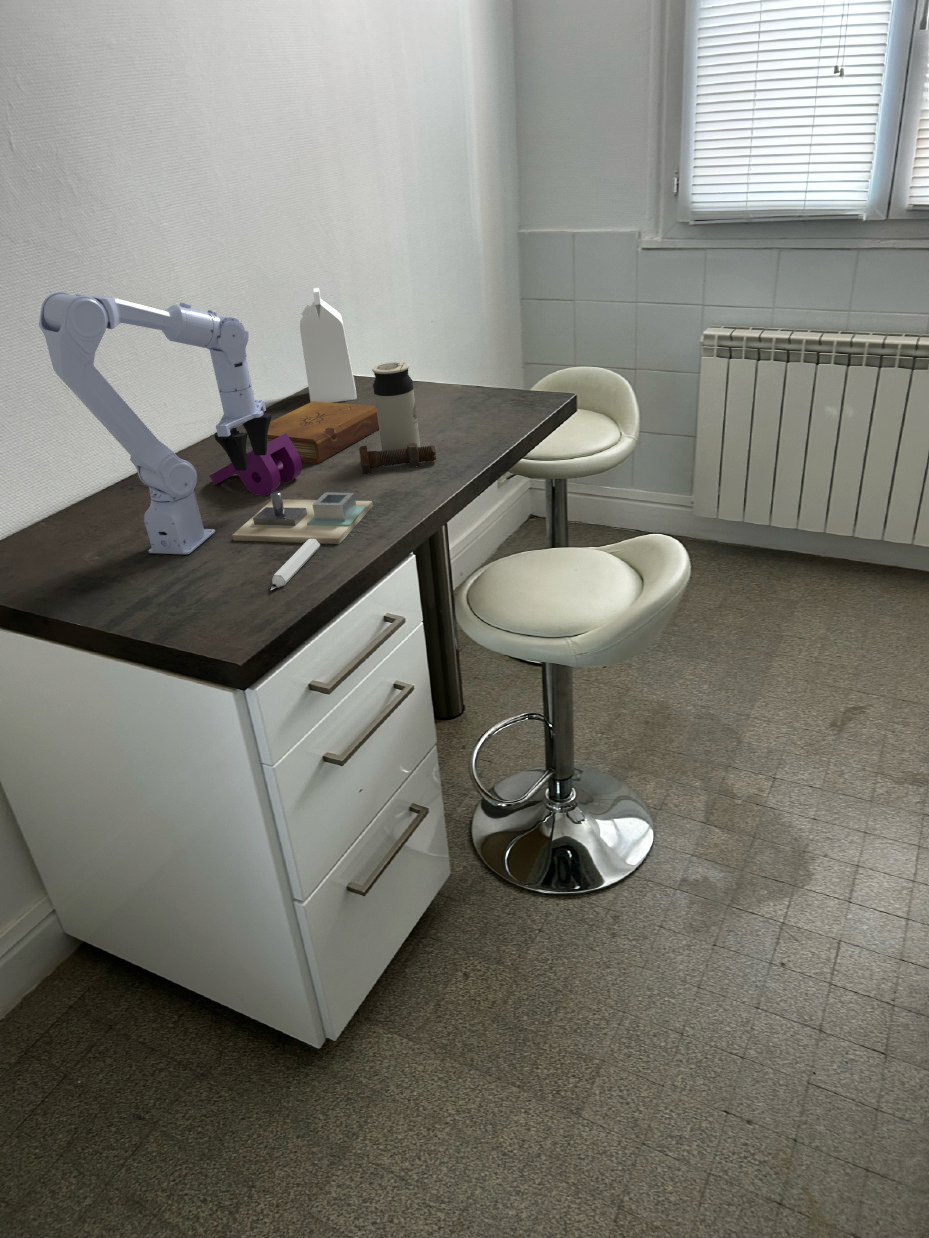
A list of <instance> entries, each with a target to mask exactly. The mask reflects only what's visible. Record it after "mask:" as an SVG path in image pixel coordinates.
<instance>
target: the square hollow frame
mask: <svg viewBox="0 0 929 1238" xmlns="http://www.w3.org/2000/svg"><path fill="white" fill-rule="evenodd" d="M355 496H356V495H355V492H329V491H328V492H324V493H323V494H322V495H321V496H320V497H319V498H318V499H316V500H317V501H316V502H315V503H314V504H313V511H314V516H315V521H344V522H345V521H346V520H347V519H348V518H349V517H350V516H351V514H352V513H353V512H354V511H355V510H356V509H357V507H356V501H357V500H356V497H355Z"/></svg>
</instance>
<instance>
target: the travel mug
mask: <svg viewBox="0 0 929 1238" xmlns="http://www.w3.org/2000/svg"><path fill="white" fill-rule="evenodd" d="M409 368H410V364H409V363H408V362H404V361H390V362H384V363H380V364H376V365H375V366H373V367H372V369H371V371H372V373H373V375H374V377H375V378H374V381H373V383H372V386H373V387H372V388H373V394H374V395H373V396H374V402H375V403H374V404H375V406H376V410H377V417H378V424H379V430H378V431H379V436H380V443H381V451H383V450H384V451H386V450H387V451H388V450H393V449H394V450H396V449H397V450H398V449H403V448H404V449H405V448H407V445H408V444H409V443H416V444H417V447H421V441H420V433H419V431H420V430H419V425H418V417H417V416H418V415H417V407H416V400H415V391H414V383H413V379H412V377H411V376H410V375H409Z"/></svg>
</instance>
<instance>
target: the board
mask: <svg viewBox="0 0 929 1238" xmlns="http://www.w3.org/2000/svg"><path fill="white" fill-rule="evenodd" d="M317 500H318V499H287V498H286V499H285V498H284V499H283V498H282V501H283V506H284V508H306V510H307V515H306V516H305V517H304V518H303V519H302V520H301V521H300V522H299V523H298V524H297V525H296V526H284V525H254V521H253V518H254V517H255V516H256V515H257V514H259V513H260V512H261V511H262V510H263V509H264V508H265V507H273V504H272V499H271V500H270V501H269V502H268V503H267V504H266V505H264V506H263V507H262V508H261V509H260V510H259V511H257V513H255V514H254V515H253V516H252V517H251V518H250V519H249V520H247V521H246V522H245V523H244V524H243V525H241V526H240V527H239V528H238V529H236V531H235V532H234V533H232V535H231V536H232V541H242V542H244V541H246V542H249V541H250V542H270V543H271V542H272V543H273V542H275V543H297V544H298V543H299V544H300V543H301V544H302V543H303V544H304V543H305V542H306V541H307V540H308V539H316V540H317V541H318V543H319V544H331V545H333V544H335V545H340V544H342V542H343V541H344V539H346V538H347V536H348V535H349V534H350V533H351V532H352V531H353V530H354V528H355V527H356V526H357V525H358V524H359V523H360V521H362V519H364V517H365V516H366V515H367V514H368V513H369V511H370V510H371V509H372V508H373V507H374V505H373V504H374V503H373V501H372V500H355V501H356V507H357V509H356V510H355V511H354V512H353V513H352V514H351V516H350V517H349V518H348V519H347V520H346V521H345V522H344V521H315V516H314V511H313V504H314V503H315V502H316V501H317Z"/></svg>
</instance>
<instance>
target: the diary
mask: <svg viewBox="0 0 929 1238" xmlns="http://www.w3.org/2000/svg"><path fill="white" fill-rule="evenodd" d="M378 429H379V424H378V417H377V410H376V405H367V404H354V403H339V402H331V403H329V402H316V401H312V402H311V401H310V402H308V403H306V404H304V405H302V406H301V407H298V408H296V409H294V410H292V411H290V412H287V413H285V414H283V415H280V416H279V417H277V418H275V419H273V420H271V421H270V424H269V429H268V436H267V443H268V442H270V441H272V440H274V439H276V438H278V437H280V436H281V435H283V434H285V433H287V435H288V437H289V438H290V440H291V442H292V443H293V445H294V447H295V449H296V450H297V452H298V454H299V456H300V458H301V462H304V461H305V463H313V464H321V463H322V462H324V461H326V460H328V459H329V458H332V457H333V456H334V454H335V455H336V454H338V453H340V452H342V451H344V450H345V449H347V448H349V447H351V446H352V445H354V444H355V443H357V442H359V441H361V440H363V439H364V438H366V437H368V436H370V435H371V433H372V434H373V433H375V432H377V431H379V430H378ZM247 438H249V436H248V435H247ZM348 446H349V447H348ZM346 447H347V448H346ZM341 450H342V451H341ZM339 451H340V452H339ZM327 458H328V459H327ZM320 462H321V463H320Z"/></svg>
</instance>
